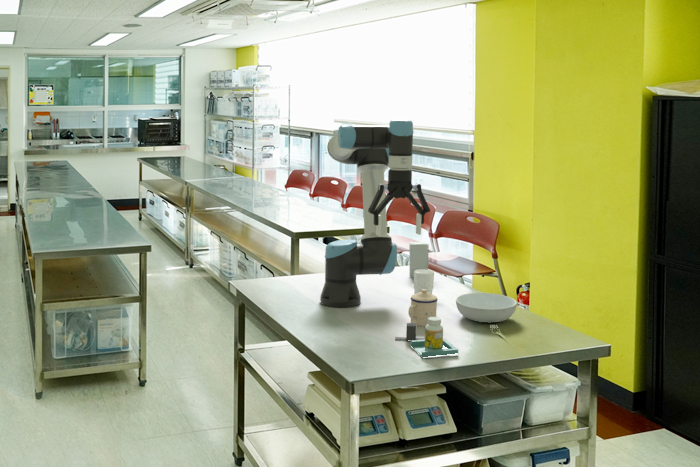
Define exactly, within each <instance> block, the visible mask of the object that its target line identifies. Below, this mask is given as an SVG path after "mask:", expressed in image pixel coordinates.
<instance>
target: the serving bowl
mask: <svg viewBox="0 0 700 467" xmlns="http://www.w3.org/2000/svg"><path fill="white" fill-rule="evenodd" d="M455 303H456V308H457V310H458V311H459V314H461V315H462V316H463V317H464V318H466V319H468V320H471V321H474V322H477V321H478V323H482V322H488V323H487V324H492V323H491V322H494V323H499V322H504V321H506V320H509V319H510V318H511V317H512V316H513V315H514V313H515V312H516V310H517V305H518V302H517V300H516V299H514V298H513V297H510V296H507V295H503V294H499V293H492V292H491V293H489V292H472V293H471V292H470V293H464V294H461V295H459V296H456V299H455Z"/></svg>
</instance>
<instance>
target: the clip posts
mask: <svg viewBox="0 0 700 467" xmlns="http://www.w3.org/2000/svg"><path fill="white" fill-rule="evenodd" d="M426 325H427V324H426ZM405 332H406V335H405V337H404V336H395V338H394V341H401V340H406V341H405V342H409V341H408V340H411V341H412V340H425V337H417V325H416V323H411V322H406V331H405ZM411 341H410V342H411Z"/></svg>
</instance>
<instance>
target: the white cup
mask: <svg viewBox="0 0 700 467" xmlns="http://www.w3.org/2000/svg"><path fill="white" fill-rule="evenodd" d="M434 277H435V271H434V270H431V269H428V270H426V269H419V270H415V271H414V277H413V290H414V294H417V293H419V292H421V290H422V289H426V290H427V292H429V293H430V294H432V295H433V290H434V280H435V278H434ZM414 294H413V295H414Z"/></svg>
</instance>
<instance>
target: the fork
mask: <svg viewBox="0 0 700 467" xmlns="http://www.w3.org/2000/svg"><path fill="white" fill-rule="evenodd" d="M489 328H492V329H493V328H494V329H495V328H496V329H497V328H499V327H498V325H497V324H496V325H495V324H490V325H489Z"/></svg>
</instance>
